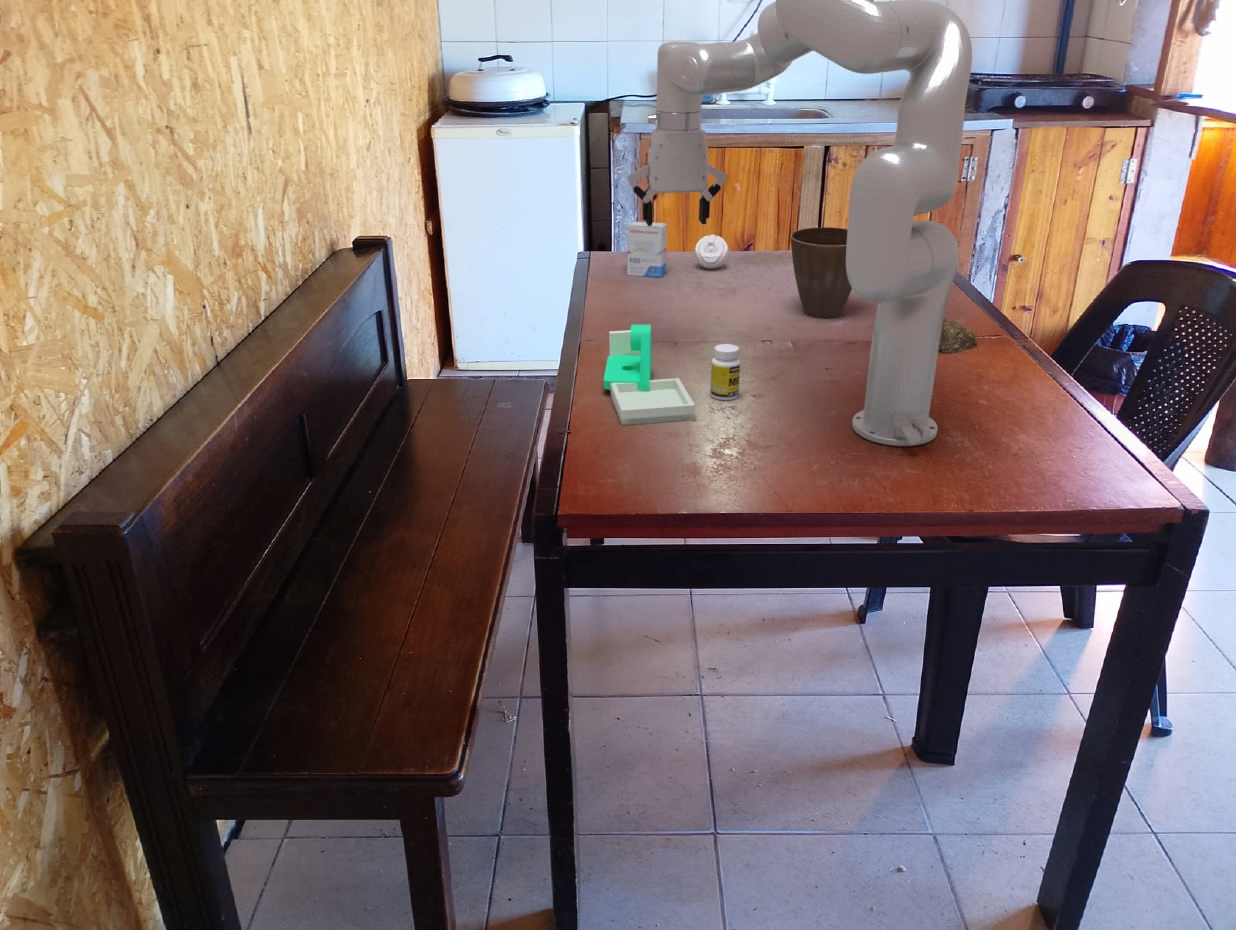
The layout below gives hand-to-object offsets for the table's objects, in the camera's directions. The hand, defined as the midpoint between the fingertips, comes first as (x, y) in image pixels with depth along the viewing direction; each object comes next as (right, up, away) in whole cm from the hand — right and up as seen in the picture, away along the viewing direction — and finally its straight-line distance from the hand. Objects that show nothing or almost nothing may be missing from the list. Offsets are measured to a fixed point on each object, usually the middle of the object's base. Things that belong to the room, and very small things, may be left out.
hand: (675, 223), depth 171 cm
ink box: (-3, +2, +57) cm, 57 cm away
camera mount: (-8, -29, -4) cm, 30 cm away
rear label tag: (-9, -26, +2) cm, 27 cm away
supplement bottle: (+8, -31, -10) cm, 34 cm away
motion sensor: (+12, +4, +61) cm, 62 cm away
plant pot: (+32, -11, +29) cm, 45 cm away
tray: (-5, -33, -14) cm, 37 cm away
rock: (+50, -20, +13) cm, 55 cm away
